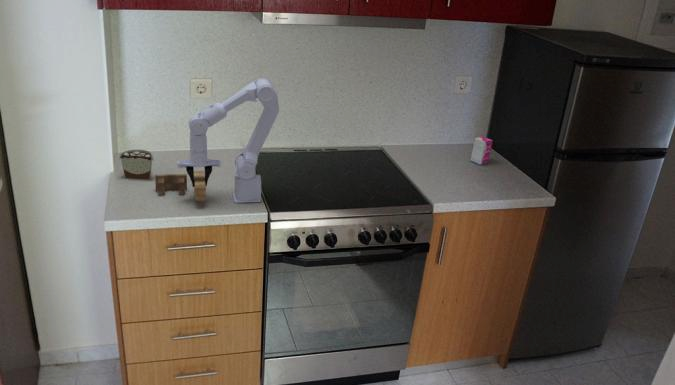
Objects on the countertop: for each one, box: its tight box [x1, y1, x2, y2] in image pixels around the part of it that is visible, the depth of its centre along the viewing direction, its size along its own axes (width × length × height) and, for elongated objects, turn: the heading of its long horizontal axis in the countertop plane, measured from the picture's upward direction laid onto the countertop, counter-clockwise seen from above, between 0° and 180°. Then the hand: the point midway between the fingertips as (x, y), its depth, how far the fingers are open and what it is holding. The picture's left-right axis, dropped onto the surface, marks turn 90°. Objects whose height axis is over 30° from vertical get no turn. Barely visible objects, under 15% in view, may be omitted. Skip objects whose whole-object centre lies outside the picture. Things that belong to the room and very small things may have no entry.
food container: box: [118, 149, 155, 182], centre depth 225 cm, size 12×6×10 cm, turn 92°
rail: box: [193, 170, 207, 202], centre depth 211 cm, size 14×4×5 cm, turn 15°
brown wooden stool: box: [154, 173, 188, 197], centre depth 216 cm, size 11×5×6 cm, turn 105°
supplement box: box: [469, 136, 494, 166], centre depth 268 cm, size 6×6×12 cm
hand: (199, 185), depth 211 cm, fingers closed on rail, 3 cm apart
